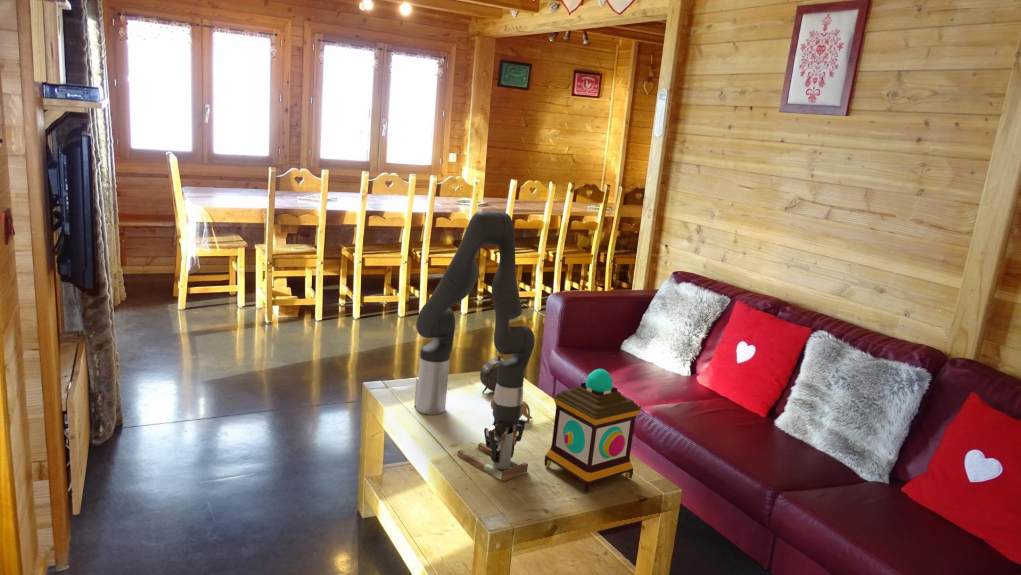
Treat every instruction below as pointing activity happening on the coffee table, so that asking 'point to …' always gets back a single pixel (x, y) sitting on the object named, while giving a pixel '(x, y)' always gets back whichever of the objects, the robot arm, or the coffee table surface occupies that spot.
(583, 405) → the decorative lantern
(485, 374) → the alarm clock
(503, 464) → the grey hollow cylinder
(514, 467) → the guide channel
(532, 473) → the coffee table surface
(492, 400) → the lion figurine
